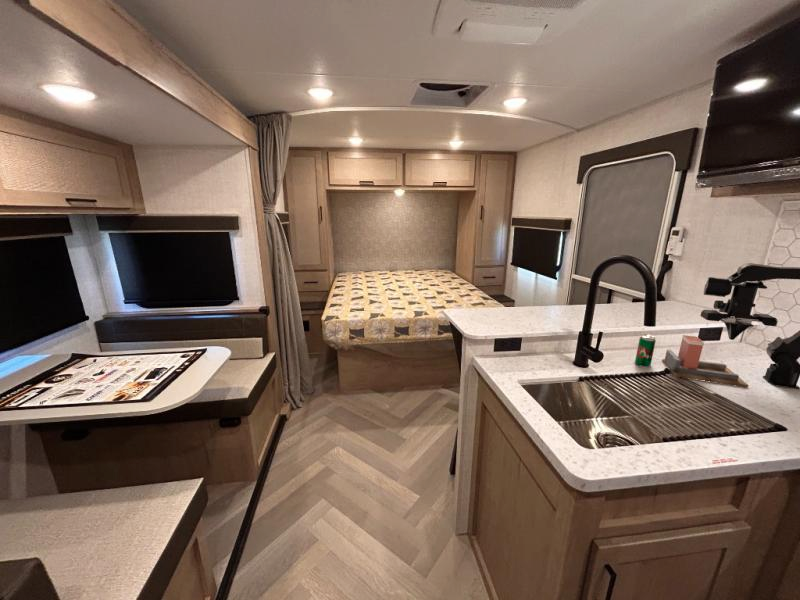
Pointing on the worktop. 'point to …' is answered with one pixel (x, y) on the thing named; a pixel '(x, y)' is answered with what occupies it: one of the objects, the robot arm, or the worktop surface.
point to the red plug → (690, 351)
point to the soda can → (645, 350)
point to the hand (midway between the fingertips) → (731, 339)
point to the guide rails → (675, 367)
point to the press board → (723, 381)
